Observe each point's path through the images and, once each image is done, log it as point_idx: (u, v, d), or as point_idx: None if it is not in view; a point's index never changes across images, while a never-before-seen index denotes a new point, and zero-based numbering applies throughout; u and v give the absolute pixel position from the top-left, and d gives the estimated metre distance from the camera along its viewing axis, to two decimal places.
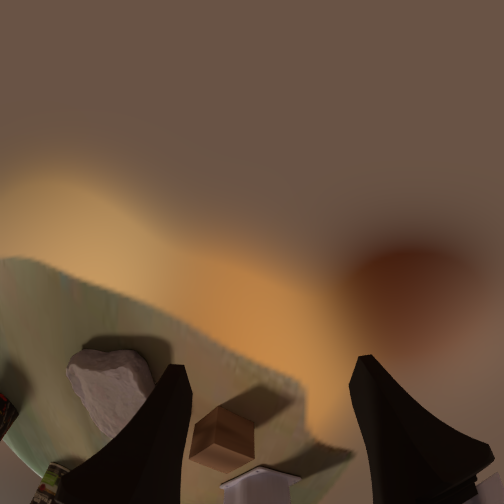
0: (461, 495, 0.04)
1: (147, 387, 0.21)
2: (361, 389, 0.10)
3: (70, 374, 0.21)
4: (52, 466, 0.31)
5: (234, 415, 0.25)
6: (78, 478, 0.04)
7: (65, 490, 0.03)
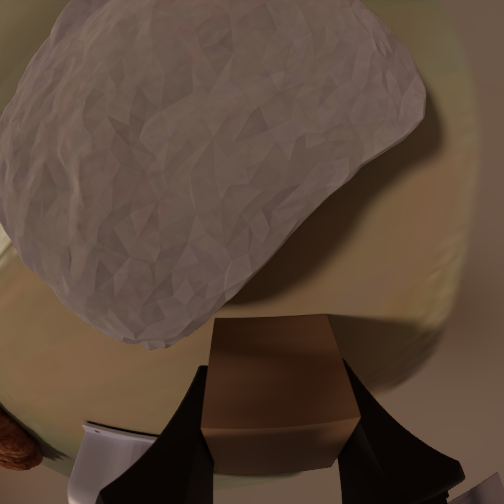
0: (461, 495, 0.04)
1: None
2: None
3: None
4: None
5: None
6: (119, 492, 0.04)
7: None
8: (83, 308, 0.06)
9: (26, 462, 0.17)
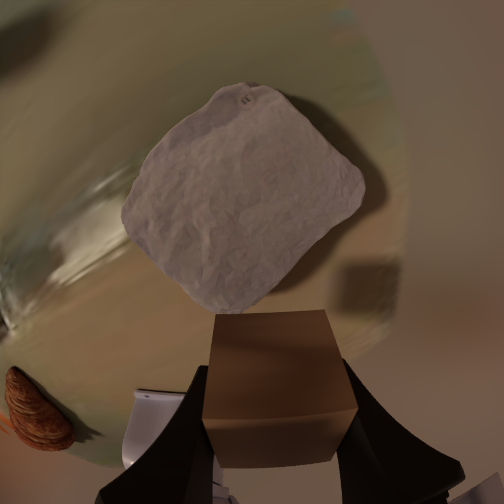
0: (461, 495, 0.04)
1: None
2: None
3: (233, 95, 0.12)
4: None
5: None
6: (119, 491, 0.04)
7: None
8: (204, 294, 0.14)
9: (62, 442, 0.25)
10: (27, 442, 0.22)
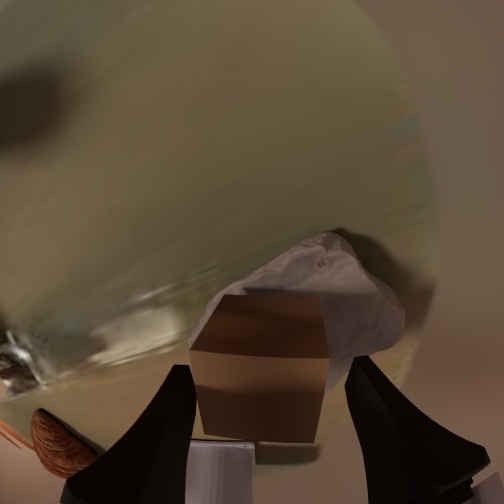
0: (461, 495, 0.04)
1: None
2: (356, 390, 0.10)
3: (309, 258, 0.13)
4: None
5: None
6: (84, 480, 0.04)
7: (71, 492, 0.03)
8: None
9: None
10: (55, 473, 0.23)
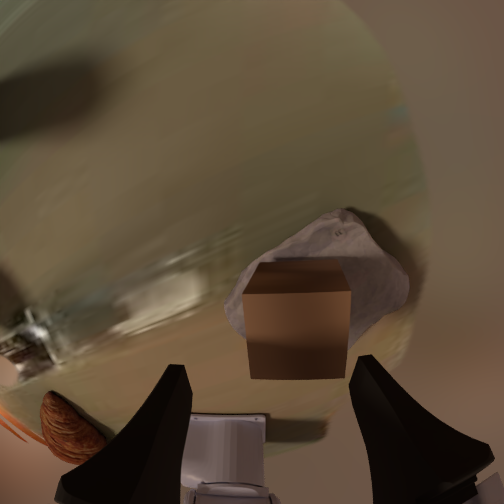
0: (461, 495, 0.04)
1: None
2: (361, 389, 0.10)
3: (329, 229, 0.16)
4: None
5: None
6: (78, 478, 0.04)
7: (64, 490, 0.03)
8: None
9: None
10: (63, 458, 0.26)
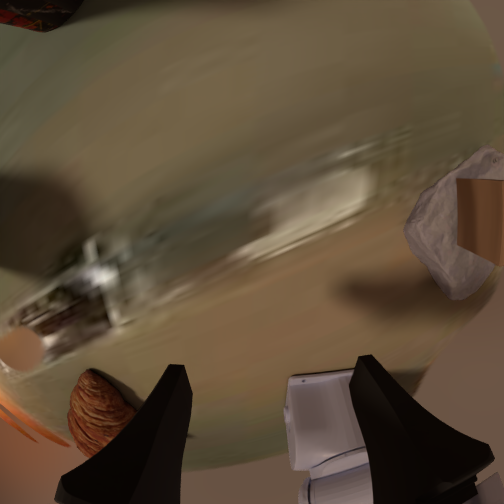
0: (461, 495, 0.04)
1: None
2: (361, 389, 0.10)
3: (490, 156, 0.13)
4: None
5: None
6: (78, 478, 0.04)
7: (64, 490, 0.03)
8: (464, 286, 0.16)
9: None
10: None
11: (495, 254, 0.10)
